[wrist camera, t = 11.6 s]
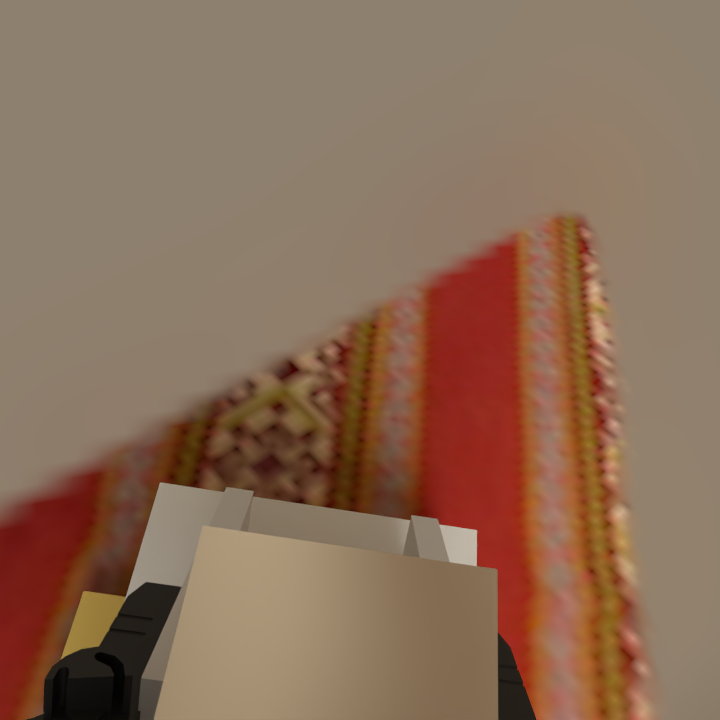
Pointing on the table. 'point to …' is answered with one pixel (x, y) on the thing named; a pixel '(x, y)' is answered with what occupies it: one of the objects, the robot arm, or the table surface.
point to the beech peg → (330, 635)
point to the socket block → (269, 517)
